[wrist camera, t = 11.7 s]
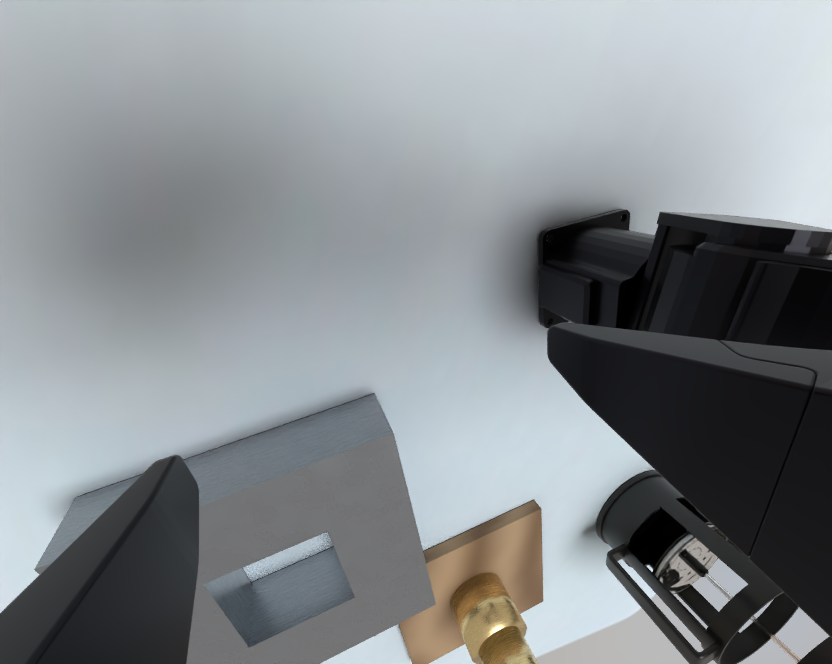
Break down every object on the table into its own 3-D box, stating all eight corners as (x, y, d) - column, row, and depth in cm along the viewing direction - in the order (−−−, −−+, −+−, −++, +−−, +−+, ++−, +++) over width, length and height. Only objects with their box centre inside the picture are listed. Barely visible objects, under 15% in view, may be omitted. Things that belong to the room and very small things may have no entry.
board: (534, 499, 33) (541, 508, 32) (537, 591, 39) (543, 601, 38) (381, 571, 30) (384, 583, 29) (411, 658, 36) (414, 671, 35)
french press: (678, 454, 39) (1115, 760, 19) (666, 515, 43) (1011, 817, 23) (583, 500, 36) (979, 917, 16) (580, 560, 40) (889, 950, 20)
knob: (498, 564, 33) (569, 687, 25) (502, 596, 35) (568, 718, 28) (446, 590, 32) (503, 727, 24) (453, 621, 34) (508, 756, 26)
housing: (374, 393, 23) (393, 433, 20) (416, 554, 30) (436, 604, 27) (75, 497, 19) (34, 569, 16) (205, 653, 27) (196, 726, 23)
